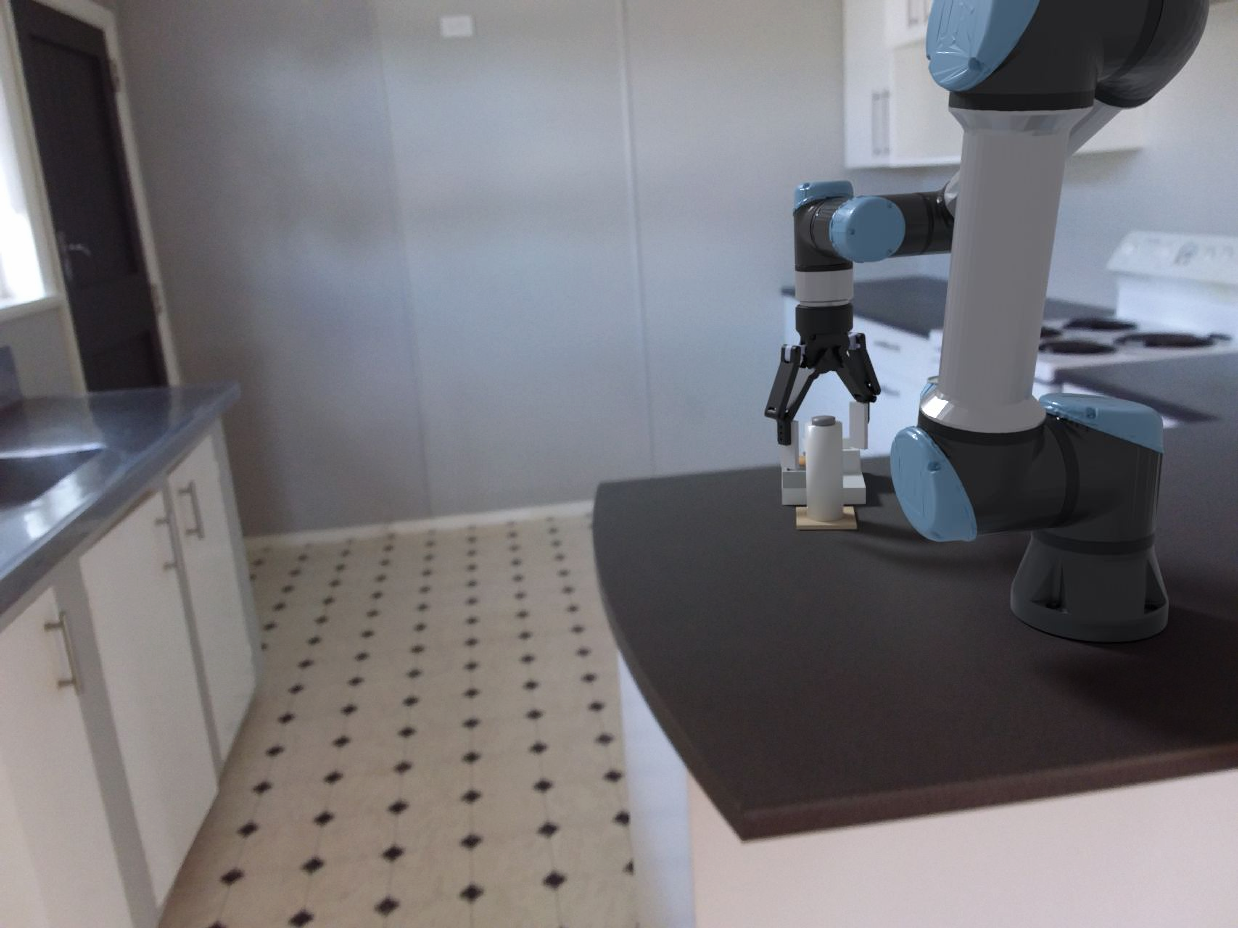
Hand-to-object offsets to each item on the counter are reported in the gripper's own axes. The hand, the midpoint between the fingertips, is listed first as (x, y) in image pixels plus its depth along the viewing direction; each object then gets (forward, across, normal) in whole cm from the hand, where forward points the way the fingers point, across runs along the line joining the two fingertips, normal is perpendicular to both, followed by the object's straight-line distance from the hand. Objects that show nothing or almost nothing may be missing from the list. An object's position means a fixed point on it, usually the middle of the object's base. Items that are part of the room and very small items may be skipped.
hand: (825, 457), depth 138 cm
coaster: (+9, 0, 0) cm, 9 cm away
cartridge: (+8, 0, 0) cm, 8 cm away
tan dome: (+6, -5, -9) cm, 12 cm away
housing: (+9, -11, -11) cm, 18 cm away
